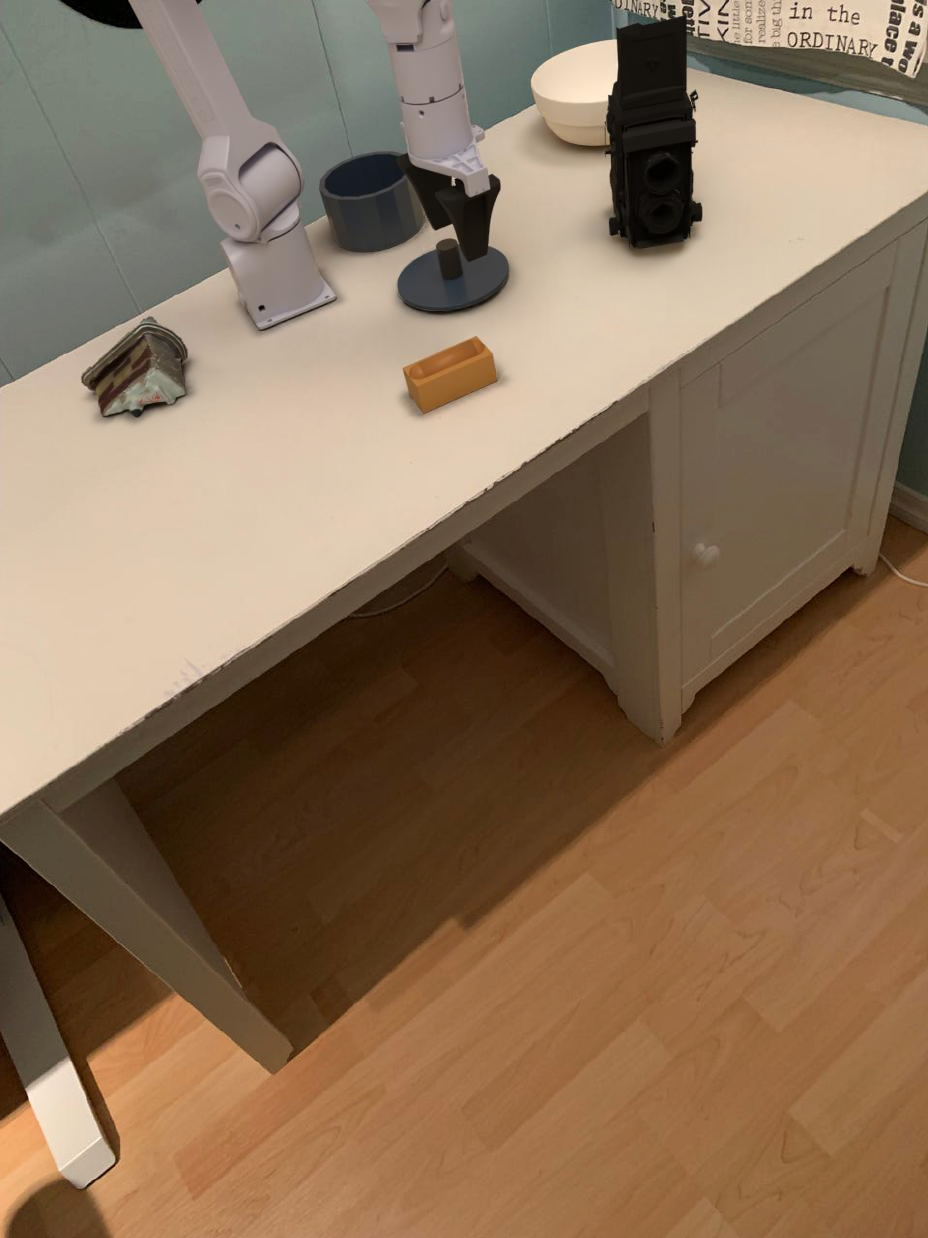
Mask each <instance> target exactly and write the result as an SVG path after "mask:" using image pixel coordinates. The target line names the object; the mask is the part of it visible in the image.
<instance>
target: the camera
mask: <svg viewBox="0 0 928 1238" xmlns="http://www.w3.org/2000/svg"><path fill="white" fill-rule="evenodd" d="M615 30H616V31H615V34H616V39H617V56H618V73H617V81H616V82H615V83H614V84H613V90H612V95H608V109H607V111H608V112H607V115H606V121H604V123H605V126H606V125H607V131H608V133H609V134H610V136H609V141H610V145H609V150H607V145H606V128H605V145H604V156H605V157H604V158H607V155H610V169H609V185H610V190H611V201H612V208H613V214H614V215H615V216H612V217H611V216H610V217H609V218H608V230H609V231H608V232H609V235H610V237H614V236H619V235H620V238H621V239H624V238H625V239H626V240H627V243H628V247H629V249H631V246H632V247H633V249H637V250H642V249H648V248H654V247H660V246H664V245H670V244H671V245H672V244H676V243H682V242H685V240H688V239H689V238H691V233H692V227H693V226H694V223H701V222H702V221H703V206H702V202H701V201H700V202H696V200H693V194H694V178H695V177H694V176H695V175H694V174H695V173H694V170H693V154H694V151H693V150H692V148H696V144H698V143H699V139H697V121H696V120H695V118H694V113H697V106H696V102H695V101H697V100H699V94H698V92H697V90H696V89H694V90H693V91H691V93H690V94H688V92H687V91H688V14H683V15H679V16H676V17H672V18H668V19H665V20H662V21H655V22H650V23H646V24H642V23H639V22H636V23H632V24H629V25H625V26H623V27H620V28H619V27H617V26H616V27H615Z"/></svg>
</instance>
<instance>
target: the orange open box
mask: <svg viewBox="0 0 928 1238" xmlns="http://www.w3.org/2000/svg"><path fill="white" fill-rule="evenodd" d="M495 364H496V363H495V359H494V353H493V352H492V351H491V350H490V349H489V347H487V345H486V344H485V343H484V342H483V341H482V340H481V339H480V338H479V337H478V336H477V335H475V336H473V337H471V338H467V339H466V340H463V341H461V342H459V343H456V344H454V345H452V346H449V347H447V348H445V349H442V350H440V351H437V352H436V353H433V354H431V355H428V356H426V357H424V358H422V359H419V360H418V361H415V362H412V363H410V364H408V365H405V366H403V367H402V372H403V377H404V379H405V380H404V381H405V383H406V388H407V391H408V394H409V396H410V398H411V399H412V400H413V401H414V403H415V404H416V405H417V407H418V408H419V410H421V412H422V413H423V414H426V413H428V412H431V411H433V410H435V409H437V408H440V407H442V406H444V405H447V404H449V403H451V402H453V401H455V400H457V399H460V398H462V397H465V396H467V395H469V394H471V393H474V392H476V391H478V390H480V389H482V388H484V387H487V386H489V385H491V384H494V383H496V382H498V377H497V371H496V365H495Z"/></svg>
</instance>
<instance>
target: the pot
mask: <svg viewBox="0 0 928 1238" xmlns="http://www.w3.org/2000/svg"><path fill="white" fill-rule="evenodd" d="M403 154H404V153H402V152H397V151H393V150H385V151H384V150H383V151H381V150H379V151H372V152H367V153H363V154H358V155H355V156H353V157H350V158H347V159H344V160H343V161H340V162H338V164H335V165H334V166H332V167H331V168H329V169H328V170H326V172H325V173H324V174H323V175H322V177H321V178H320V179H319V184H318V191H319V194H320V197H321V201H322V204H323V208H324V211H325V214H326V217H327V220H328V224H329V227H330V230H331V234H332V237H333V238H334V240H335V242H336V244H337V245H338V246H339V247H340V248H342V249H343V250H346V251H349V252H354V253H372V252H379V251H383V250H387V249H390V248H393V247H396V246H398V245H400V244H402V243H404V242H406V241H408V240H409V239H411V238H412V237H414V236H415V235H416V234H417V233H418V232H420V230H421V229H422V227H423V226H424V224H425V218H426V217H425V211H424V209H423V207H422V204H421V202H420V200H419V197H418V195H417V193H416V191H415V189H414V188H413V186H412V184H411V182H410V181H409V179H408V178H407V176H406V175H405V173H404V172H403V171H402V170H401V168H400V167H399V166H398V164H397V163H396V159H397V158H398V157H399V156H401V155H403Z"/></svg>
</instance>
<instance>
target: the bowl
mask: <svg viewBox="0 0 928 1238" xmlns="http://www.w3.org/2000/svg"><path fill="white" fill-rule="evenodd" d="M617 73H618V56H617V38H615V39H606V40H600V41H595V42H590V43H586V44H583V45H579V46H576V47H573V48H570V49H568V50H564V51H562V52H561V53H558V54H556V55H554V56H552V57H551V58H549V59H547V60H546V61H544V62H543V63H542V64H541V65H539V66H538V67H537V69H535V71H534V72H533V74H532V76H531V78H530V86H531V87H530V89H531V92H532V95H533V99H534V102H535V107H536V109H537V111H538V112H539V114H540V115H541V116H542V117H543V118H544V121H545V123H546V124H547V127H548V128H549V129H550V130H551V131H552V132H553V133H554V134H555V135H556V136H557V137H558V138H560V139H561V140H563V141H565V142H567V143H570V144H574V145H579V146H591V147H599V146H600V147H601V146H605V128H606V146H610V141H609V136H610V134H609V133H608V131H607V125H606V126H605V123H604V121H606V115H607V112H608V111H607V109H608V95H612V90H613V84H614V83H615V82H616V81H617Z"/></svg>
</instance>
